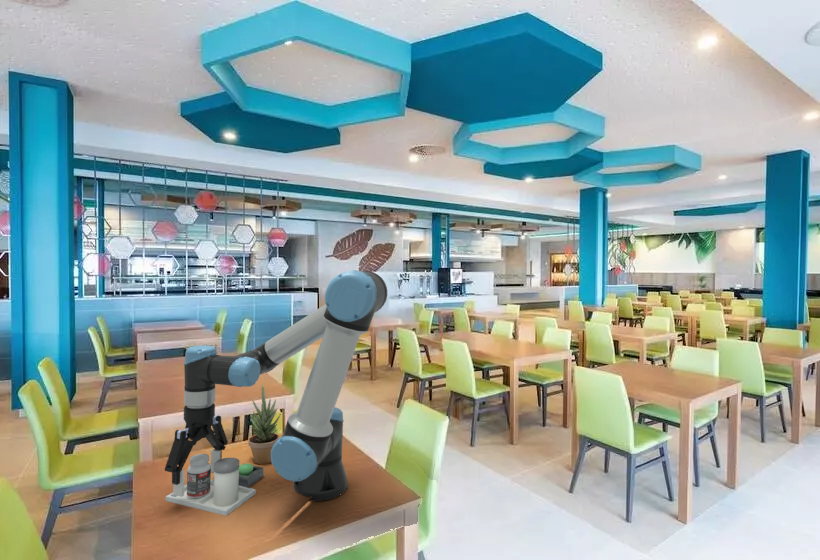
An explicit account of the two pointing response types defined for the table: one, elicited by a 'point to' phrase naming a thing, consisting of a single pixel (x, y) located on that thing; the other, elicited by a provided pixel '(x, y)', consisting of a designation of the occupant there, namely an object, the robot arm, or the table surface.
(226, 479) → the white canister
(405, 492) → the table surface
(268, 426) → the potted plant
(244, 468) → the button
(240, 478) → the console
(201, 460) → the pill bottle
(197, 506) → the white divided tray
